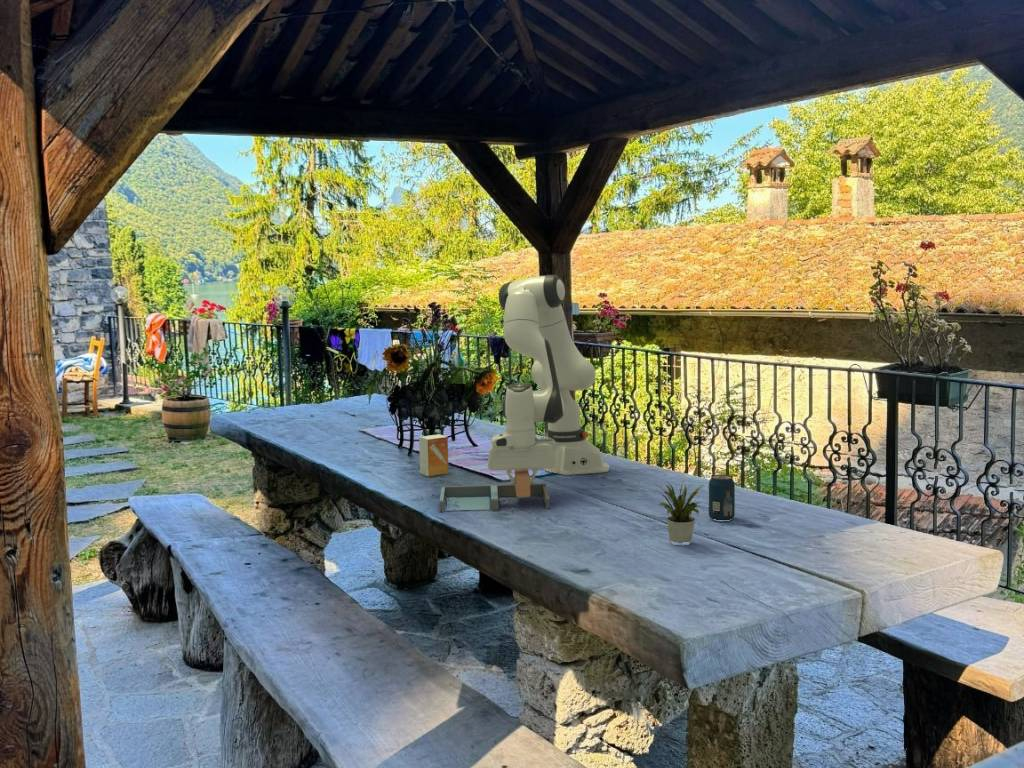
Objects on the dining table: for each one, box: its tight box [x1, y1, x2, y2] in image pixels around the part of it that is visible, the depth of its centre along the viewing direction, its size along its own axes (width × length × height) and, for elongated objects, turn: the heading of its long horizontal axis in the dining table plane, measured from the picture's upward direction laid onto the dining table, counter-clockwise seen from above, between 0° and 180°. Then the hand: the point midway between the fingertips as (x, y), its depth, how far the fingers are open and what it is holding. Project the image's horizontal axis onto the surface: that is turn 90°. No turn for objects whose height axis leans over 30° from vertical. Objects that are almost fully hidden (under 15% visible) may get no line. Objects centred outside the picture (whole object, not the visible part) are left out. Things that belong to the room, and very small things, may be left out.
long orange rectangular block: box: [513, 469, 531, 498], centre depth 277 cm, size 4×12×6 cm, turn 2°
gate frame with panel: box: [439, 483, 551, 512], centre depth 277 cm, size 32×17×4 cm, turn 92°
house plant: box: [649, 479, 705, 543], centre depth 233 cm, size 14×14×16 cm
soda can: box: [708, 473, 736, 520], centre depth 253 cm, size 7×7×12 cm
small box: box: [418, 433, 450, 477], centre depth 318 cm, size 8×6×13 cm
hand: (522, 483), depth 277 cm, fingers closed on long orange rectangular block, 4 cm apart
